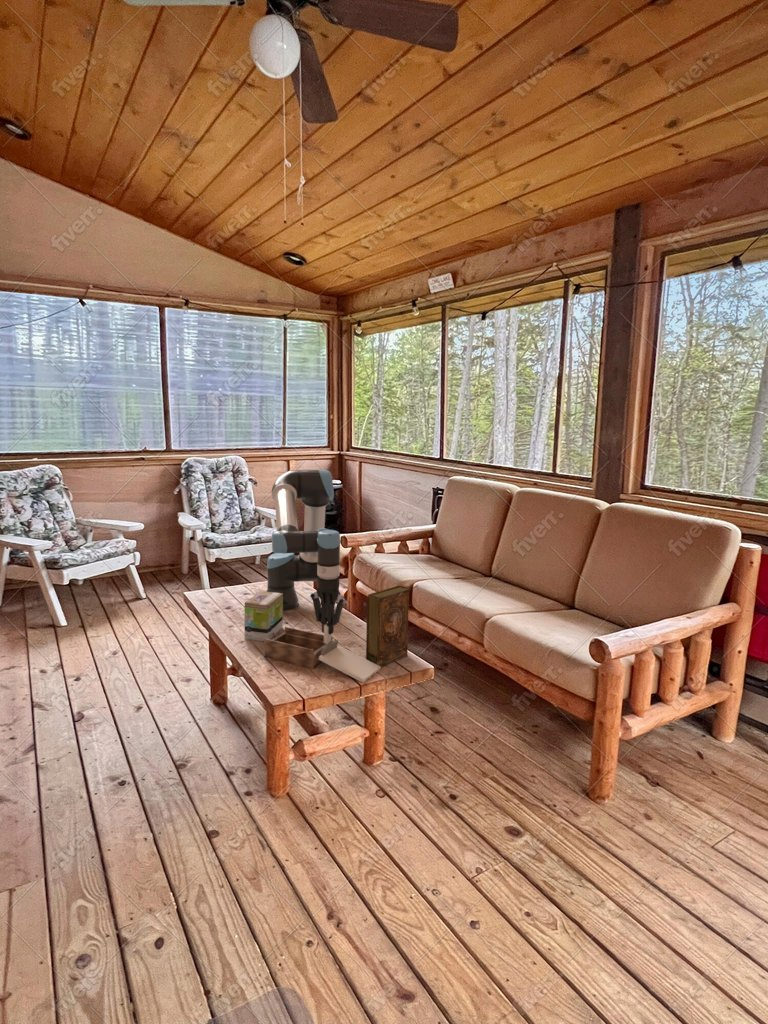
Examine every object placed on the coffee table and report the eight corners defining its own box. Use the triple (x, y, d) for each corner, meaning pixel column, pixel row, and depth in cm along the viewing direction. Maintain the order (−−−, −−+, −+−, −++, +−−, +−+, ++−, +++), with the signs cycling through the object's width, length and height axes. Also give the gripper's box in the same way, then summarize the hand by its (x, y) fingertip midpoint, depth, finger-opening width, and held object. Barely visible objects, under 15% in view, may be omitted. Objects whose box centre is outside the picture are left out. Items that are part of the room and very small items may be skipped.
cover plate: (317, 658, 197) (319, 649, 196) (335, 647, 207) (337, 637, 206) (363, 682, 189) (365, 672, 188) (380, 669, 199) (382, 660, 198)
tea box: (268, 642, 219) (268, 604, 216) (243, 639, 221) (243, 602, 218) (283, 627, 233) (283, 592, 231) (259, 625, 235) (259, 590, 233)
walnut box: (264, 657, 206) (264, 639, 205) (285, 643, 218) (285, 626, 217) (313, 669, 198) (313, 650, 197) (332, 654, 210) (332, 636, 208)
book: (398, 650, 215) (400, 585, 210) (409, 655, 211) (411, 588, 206) (365, 663, 203) (366, 594, 199) (377, 668, 199) (378, 598, 195)
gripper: (305, 576, 196) (305, 642, 201) (339, 582, 191) (338, 649, 195) (317, 570, 203) (317, 634, 208) (350, 576, 198) (349, 641, 202)
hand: (327, 642), depth 202 cm, fingers closed
